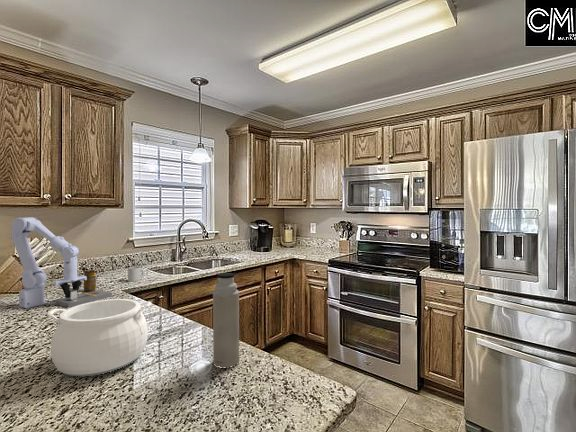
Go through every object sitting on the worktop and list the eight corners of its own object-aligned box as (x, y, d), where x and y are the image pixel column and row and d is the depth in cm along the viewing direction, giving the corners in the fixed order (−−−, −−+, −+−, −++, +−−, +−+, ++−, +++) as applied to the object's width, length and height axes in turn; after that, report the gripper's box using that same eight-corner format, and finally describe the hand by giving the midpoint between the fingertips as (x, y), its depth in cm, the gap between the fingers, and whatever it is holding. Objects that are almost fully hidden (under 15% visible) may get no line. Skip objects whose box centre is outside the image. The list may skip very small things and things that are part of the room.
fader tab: (70, 300, 158) (70, 290, 158) (64, 298, 160) (64, 289, 160) (77, 298, 161) (77, 289, 161) (71, 297, 163) (71, 288, 163)
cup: (126, 280, 210) (126, 267, 210) (142, 278, 217) (142, 265, 216) (129, 282, 205) (129, 269, 204) (146, 280, 211) (145, 267, 211)
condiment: (95, 288, 190) (95, 268, 190) (98, 291, 184) (97, 271, 183) (81, 290, 186) (81, 270, 185) (83, 293, 179) (83, 272, 179)
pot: (27, 390, 84) (26, 326, 84) (66, 348, 110) (65, 299, 109) (145, 374, 92) (145, 316, 92) (156, 338, 118) (156, 292, 117)
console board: (68, 307, 154) (68, 303, 154) (55, 304, 160) (55, 299, 160) (111, 296, 174) (111, 292, 173) (98, 293, 179) (98, 289, 179)
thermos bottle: (208, 363, 99) (207, 274, 98) (228, 354, 105) (227, 270, 104) (224, 371, 94) (224, 277, 93) (244, 361, 100) (244, 273, 99)
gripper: (59, 273, 152) (59, 301, 152) (89, 268, 165) (90, 294, 165) (51, 272, 155) (51, 299, 156) (82, 267, 168) (82, 292, 168)
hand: (71, 296), depth 161 cm, fingers closed on fader tab, 3 cm apart
